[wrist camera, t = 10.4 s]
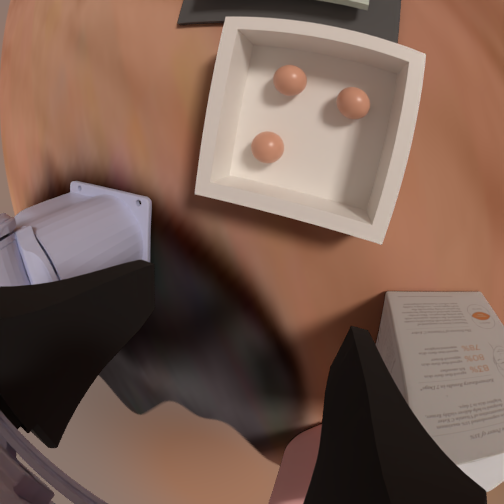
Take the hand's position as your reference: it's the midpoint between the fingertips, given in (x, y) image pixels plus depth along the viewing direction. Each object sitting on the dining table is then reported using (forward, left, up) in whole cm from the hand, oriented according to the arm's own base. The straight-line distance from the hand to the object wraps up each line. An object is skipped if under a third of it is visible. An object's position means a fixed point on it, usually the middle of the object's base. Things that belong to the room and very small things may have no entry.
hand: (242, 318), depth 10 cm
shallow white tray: (0, +7, -9) cm, 12 cm away
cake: (+16, -24, -10) cm, 30 cm away
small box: (+12, -4, -10) cm, 16 cm away
